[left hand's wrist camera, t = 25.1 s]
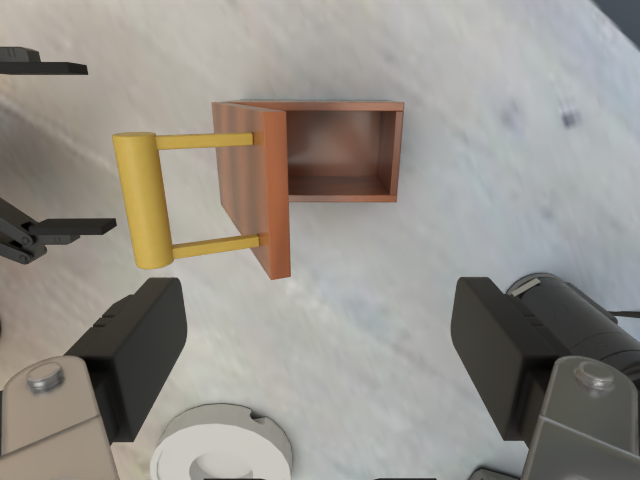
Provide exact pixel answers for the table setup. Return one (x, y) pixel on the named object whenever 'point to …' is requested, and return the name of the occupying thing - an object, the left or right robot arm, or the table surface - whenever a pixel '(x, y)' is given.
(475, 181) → the table surface
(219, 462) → the ashtray
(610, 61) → the table surface
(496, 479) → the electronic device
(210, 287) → the table surface
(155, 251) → the lid
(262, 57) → the table surface
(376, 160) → the chest
